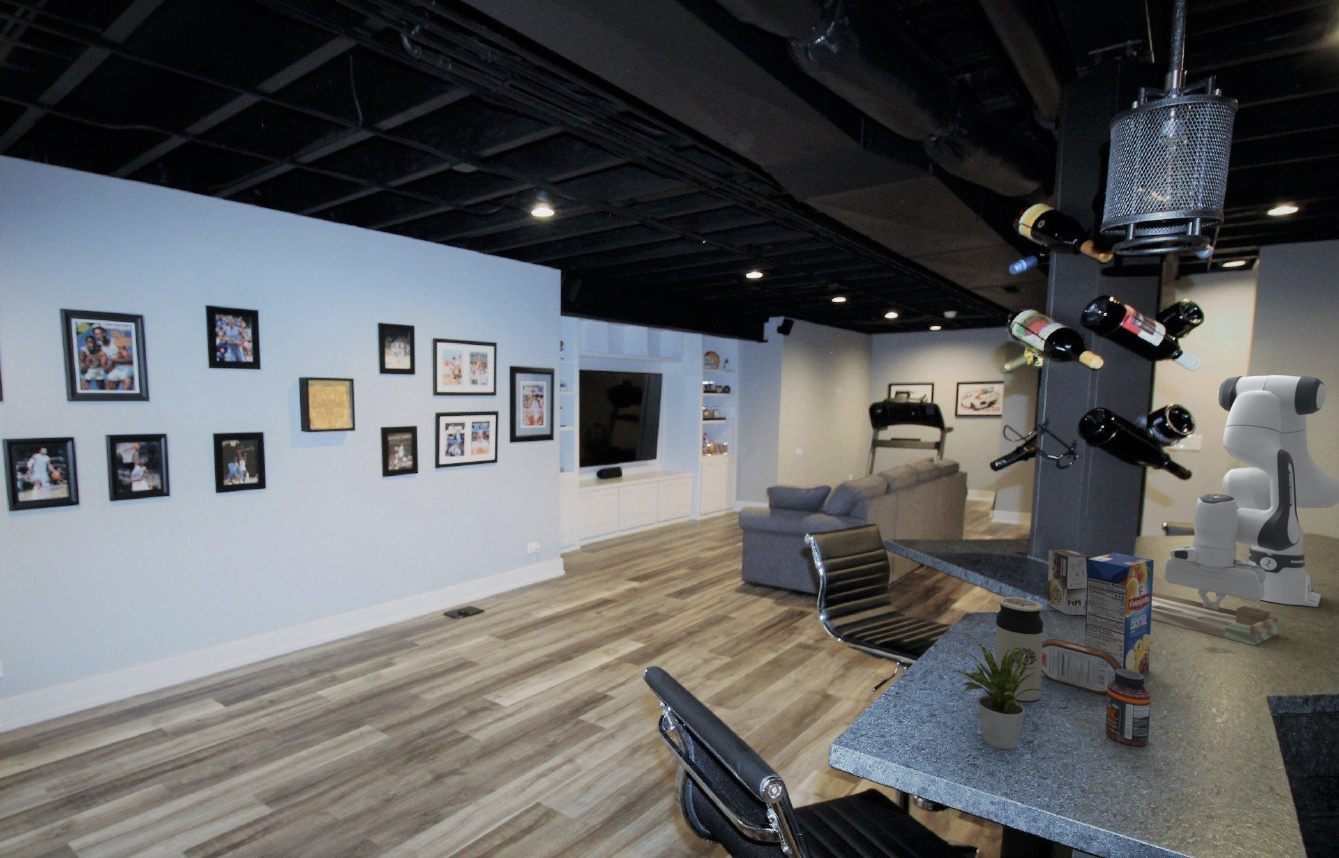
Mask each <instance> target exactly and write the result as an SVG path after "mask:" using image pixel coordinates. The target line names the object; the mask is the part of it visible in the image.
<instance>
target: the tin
mask: <svg viewBox="0 0 1339 858" xmlns="http://www.w3.org/2000/svg"><path fill="white" fill-rule="evenodd" d="M1117 669H1122V666H1121V665H1120V663H1119V662H1118V660H1117V659H1116V658H1114V657H1113V656H1112V655H1111V654H1109V653H1107V652H1105V651H1103V650H1100V649H1095V648H1091V647H1088V646H1085V644H1084V645H1083V644H1078V643H1075V642H1071V641H1067V640H1064V639H1059V638H1049V639H1046V640H1044V641H1042V666H1041V674H1042V675H1044V676H1045V677H1047V678H1048V679H1050V680H1052V681H1054V682H1057V683H1061V684H1064V685H1068V686H1071V687H1074V688H1078V689H1081V690H1084V691H1087V692H1088V691H1089V692H1092V693H1094V694H1099V695H1107V687H1108V683H1109V682H1110V681H1112V680H1114V679H1115V677H1114V676H1115V670H1117Z"/></svg>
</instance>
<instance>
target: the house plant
mask: <svg viewBox="0 0 1339 858" xmlns="http://www.w3.org/2000/svg"><path fill="white" fill-rule="evenodd" d="M972 640H974V642H976V644H977V645H978V646H979V648H980V649H981V651H982V653H983V656H984V659H985V662H986V664H987V665H988V668H989V669H988V668H987V667H986V666H984V665H983V664H982V662H980V660H979V659H977V658H976V657H975V656H974V655H972V654H970V653H969V652H966V651H963V650H958V649H954V648H953V650H955V651H958V652H960V653H962V654H963V653H964V654H965V655H962V654H960V655H961V656H962V657H965V658H968V659H970V660H972V659H971V658H973V660H974V661H973V664H974V666H975V667H976V669H977V670H978V671H973V672H968V671H965V670H958V669H954V671H955V672H956V673H958V674H959V675H958V674H957V676H958V677H962V678H964V679H967V680H968V681H966V682H964V683H962V684H961V686H959V687H962V686H966V687H965V689H964V690H963V693H965V691H970V690H975V689H976V690H977V689H979V690H980V691H981V692H982V693H983V694H984V695H980V696H979V697H977V700H976V701H977V707H978V708H977V709H978V715H979V724H980V731H981V739H982V740H983V741H984V742H985V743H986V744H988V745H990V746H992V747H994V748H997V749H1002V750H1012V749H1015V748H1017V745H1018V741H1019V737H1020V732H1021V728H1022V724H1023V720H1024V716H1025V712H1026V710H1025V707H1024V706H1023V705H1022V703H1021V701H1020V702H1018V701H1017V700H1014V699H1015V698H1016V697H1017V696H1018V695H1019V694H1021V693H1023V692H1025V691H1030V690H1038V691H1041V693H1044V691H1043V690H1042V689H1041V690H1040V689H1035V688H1034V689H1027V690H1024V691H1022V692H1020V693H1019V694H1018V695H1017V696H1016V697H1015V698H1014V693H1015V691H1016V690H1017V689H1018V688H1019V685H1020V683H1021V682H1022V681H1023V680H1025V679H1026V678H1028V677H1029V676H1030V675H1031V674H1033V673H1035V672H1032V673H1030V674H1029V675H1027V676H1026V677H1024V678H1023V679H1021V680H1020V681H1019V682H1018V680H1019V679H1020V677H1021V676H1022V674H1023V673H1024V671H1025V670H1026V668H1027V666H1028V664H1029V662H1030V660H1031V659H1030V660H1029V661H1028V662H1027V663H1026V664H1025V665H1024V667H1023V668H1022V670H1021V672H1020V673H1019V674H1017V673H1018V671H1019V669H1020V667H1021V666H1022V664H1023V661H1024V658H1025V655H1026V653H1025V654H1024V655H1023V657H1022V658H1021V660H1020V662H1019V664H1018V666H1017V667H1016V669H1015V671H1014V673H1013V675H1012V676H1011V673H1012V668H1013V664H1014V662H1015V659H1016V657H1017V655H1018V653H1019V651H1020V650H1021V649H1020V647H1021V646H1022V643H1021V644H1019V645H1017V646H1016V647H1015V648H1014V649H1013V650H1012V652H1011V653H1010V655H1009V656H1008V654H1009V649H1008V650H1007V651H1006V653H1005V655H1004V657H1003V659H1002V662H1001V668H1000V671H999V668H998V666H997V664H996V662H995V656H994V655H993V654H992V652H991V651H990V650H989V649H988V648H986V647H985V646H984V645H983V644H981V643H980V642H979V641H978V640H976V639H974V638H972ZM966 655H967V656H966ZM970 657H971V658H970ZM1038 671H1039V670H1038ZM984 672H985V673H984ZM1036 672H1037V671H1036ZM985 674H986V675H985ZM987 677H988V678H987ZM975 682H976V683H975ZM1017 682H1018V683H1017ZM983 686H984V687H983ZM985 688H986V689H985ZM982 689H983V690H982ZM984 691H985V692H986V693H987V694H986V693H984ZM1044 694H1045V693H1044ZM1045 695H1046V694H1045Z"/></svg>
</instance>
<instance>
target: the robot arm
mask: <svg viewBox="0 0 1339 858" xmlns="http://www.w3.org/2000/svg"><path fill="white" fill-rule="evenodd" d="M1217 400H1218V404H1219V406H1220V407H1221V408H1222V409H1223V410H1224V411H1227V412H1228V416H1227V419H1226V422H1225V426H1224V431H1223V437H1222V438H1223V439H1222V442H1223V443H1222V444H1223V447H1224V450H1225V451H1226V452H1227V453H1228V455H1230V456H1231V457H1233V458H1234V459H1236V460H1238V461H1240V462H1242V463H1244V464H1246V465H1248V466H1252V467H1248V466H1247V467H1239V468H1238V467H1237V468H1232V469H1230V470H1229V471H1227V472H1226V473H1225V474H1224V476H1223V478H1222V480H1221V481H1222V482H1221V486H1222V490H1223V492H1224V493H1225V494H1221V493H1220V494H1218V493H1215V494H1212V493H1211V494H1204V495H1201V496H1199V497H1198V499H1197V500H1196V504H1195V507H1194V513H1193V521H1192V528H1193V531H1194V537H1193V539H1192V543H1191V546H1185V547H1177V548H1174V549H1171V550H1170V551H1169V557H1170V558H1169V559H1168V560H1167V561H1166V564H1165V568H1164V575H1163V576H1164V577H1163V578H1164V580H1165V581H1166V583H1168V584H1173V585H1177V586H1181V587H1187V588H1192V589H1196V590H1198V593H1197V594H1198V595H1199V597H1200V599H1201V600H1202V603H1203V607H1206V608H1211V609H1215V610H1219V608H1220V607H1221V606H1220V603H1222V602H1223V601H1224V599H1226V596H1228V597H1234V598H1239V599H1242V600H1248V601H1252V602H1259V601H1266V602H1270V603H1277V604H1283V605H1293V606H1305V607H1319V604H1320V601H1321V593H1318V592H1313V591H1314V589H1313V588H1311V587H1312V586H1311V585H1312V582H1311V581H1312V578H1311V576H1310V575H1309V572H1308V571H1307V570H1306V569H1305V566H1306V564H1305V562H1306V553H1303V547H1304V530H1303V528H1302V526H1301V525H1300V523H1299V517H1298V511H1297V510H1298V509H1299V508H1302V509H1326V508H1327V509H1328V508H1329V509H1330V508H1332V507H1335V505H1337V504H1339V479H1338V477H1336V476H1335V475H1333V474H1331V473H1329V472H1327V471H1326V470H1324V469H1323V468H1322V467H1320V466H1319V465H1318V464H1317V463H1316V461H1314V459H1313V458H1312V456H1311V455H1310V451H1309V448H1308V447H1309V446H1308V441H1307V416H1306V415H1311V414H1314V413H1317V412H1318V411H1320V410H1321V409H1322V407H1323V405H1324V403H1325V401H1326V400H1327V390H1326V387H1325V384H1324V381H1321V379H1319V378H1317V377H1313V376H1306V375H1302V376H1295V375H1286V374H1285V375H1281V374H1270V375H1252V376H1251V375H1249V376H1242V375H1239V376H1232V377H1228V378H1226V379H1225V380H1223V381H1222V382H1221V383H1220V386H1219V388H1218V391H1217ZM1237 504H1238V505H1237ZM1297 508H1298V509H1297ZM1237 543H1238V544H1243V545H1248V546H1251V547H1250V548H1249V549H1248V562H1246V561H1241V560H1237V549H1238V548H1237ZM1209 592H1211V593H1215V597H1216V598H1217V599H1216V600H1210V599H1209V597H1208V595H1207V594H1208V593H1209Z"/></svg>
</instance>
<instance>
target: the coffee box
mask: <svg viewBox="0 0 1339 858" xmlns="http://www.w3.org/2000/svg"><path fill="white" fill-rule="evenodd" d="M1090 558H1092V557H1091V556H1089V555H1087V554H1084V553H1081V552H1077V551H1075V550H1072V549H1048V566H1047V567H1048V575H1047V579H1048V580H1047V606H1049V607H1051V608H1053V609H1055V610H1057V611H1059V612H1061V613H1063V614H1065V615H1069V616H1070V615H1073V616H1074V615H1075V616H1086V598H1087V573H1088V559H1090Z"/></svg>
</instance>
